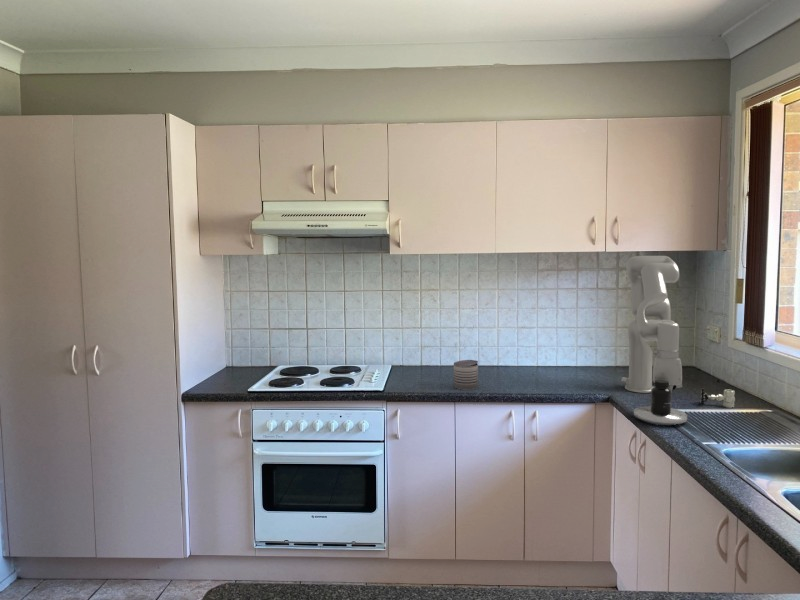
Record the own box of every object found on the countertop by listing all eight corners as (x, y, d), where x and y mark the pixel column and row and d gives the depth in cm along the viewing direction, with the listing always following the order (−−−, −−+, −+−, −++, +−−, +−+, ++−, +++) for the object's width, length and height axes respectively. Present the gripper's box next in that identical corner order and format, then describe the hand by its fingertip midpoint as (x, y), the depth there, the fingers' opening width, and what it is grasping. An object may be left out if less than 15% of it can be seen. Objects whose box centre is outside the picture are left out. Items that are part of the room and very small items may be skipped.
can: (479, 390, 256) (479, 364, 255) (454, 390, 256) (454, 364, 255) (477, 384, 267) (477, 359, 266) (453, 384, 268) (452, 359, 267)
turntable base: (668, 428, 199) (668, 425, 199) (632, 419, 210) (632, 416, 210) (688, 420, 208) (688, 418, 208) (651, 412, 219) (651, 409, 219)
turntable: (691, 426, 198) (692, 406, 197) (636, 421, 203) (636, 402, 202) (680, 408, 218) (681, 390, 218) (631, 405, 224) (631, 388, 223)
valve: (733, 405, 227) (700, 402, 232) (734, 389, 226) (700, 386, 231) (735, 409, 221) (701, 406, 226) (736, 393, 220) (701, 390, 226)
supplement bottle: (669, 416, 204) (670, 384, 203) (649, 414, 208) (650, 382, 206) (671, 411, 210) (672, 380, 209) (651, 409, 214) (652, 378, 212)
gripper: (646, 355, 215) (645, 402, 216) (690, 357, 209) (689, 405, 211) (646, 351, 222) (645, 397, 223) (688, 353, 216) (687, 400, 217)
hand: (666, 401), depth 217 cm, fingers closed
